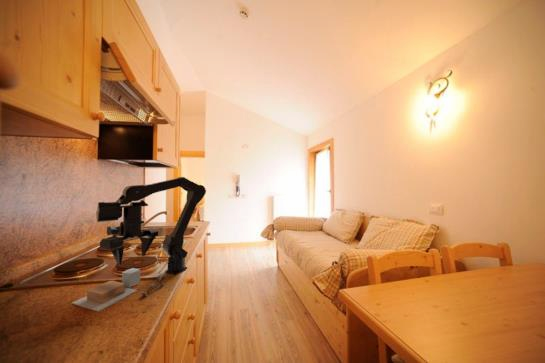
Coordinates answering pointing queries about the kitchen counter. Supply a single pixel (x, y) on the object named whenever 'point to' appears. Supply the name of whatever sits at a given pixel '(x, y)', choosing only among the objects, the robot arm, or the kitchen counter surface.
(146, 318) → the kitchen counter surface
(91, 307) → the build mat
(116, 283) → the plinth
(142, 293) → the wooden post with brackets
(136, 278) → the grey block
